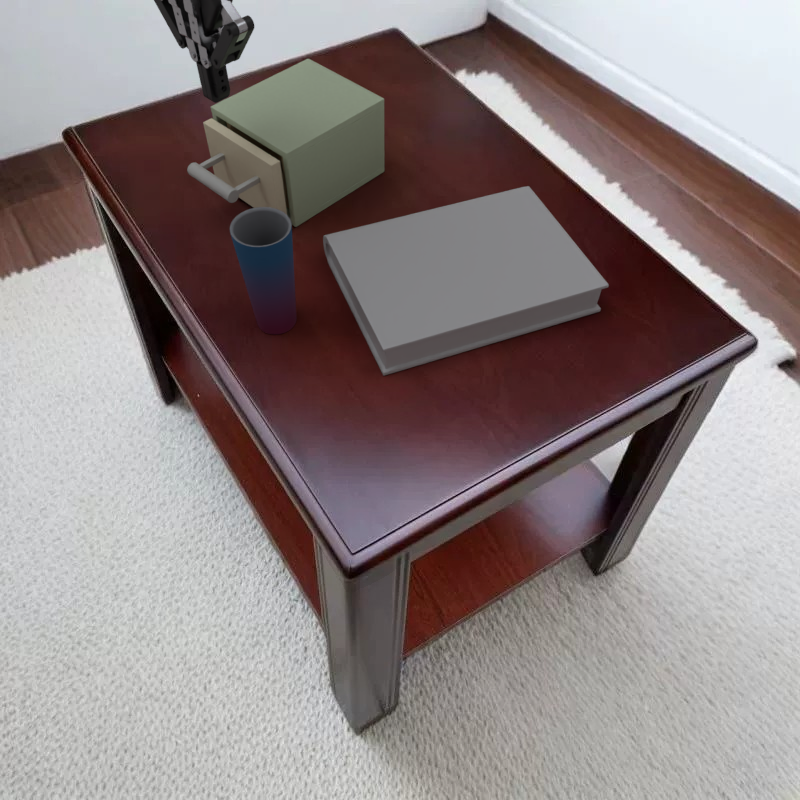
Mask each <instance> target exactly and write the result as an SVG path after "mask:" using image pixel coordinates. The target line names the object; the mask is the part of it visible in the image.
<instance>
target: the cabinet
mask: <svg viewBox="0 0 800 800" xmlns="http://www.w3.org/2000/svg"><path fill="white" fill-rule="evenodd" d="M210 112H211V116H212V119H214V120H215V121H217V122H219V123H220V124H222V125H223V126H225V127H227V123H229V124H230V125H232V126H234V127H235V128H237V129H238V130H240V131H242V132H243V133H245V134H246V135H248V136H250V137H251V138H253V139H255V140H256V141H258V142H259V143H261V144H263V145H264V146H266V147H267V148H269V149H271V150H272V151H274V152H275V153H277V154H279V155H280V156H282V157H283V163H284V171H285V179H286V186H287V194H288V202H289V208H288V207H286V210H287V216H288V217H289V218H290V220H291V224H292V227H293V226H294V228H297V227H299V226H300V225H302V224H304V223H306V222H307V221H308V220H309V219H311V218H313V217H315V216H316V215H317V214H319V213H321V212H322V211H324V210H326V209H327V208H329V207H330V206H332V205H334V204H335V203H336V202H338V201H340V200H341V199H343V198H345V197H347V196H348V195H349V194H351V193H353V192H355V191H356V190H357V189H359V188H360V187H361V188H362V186H364V185H365V184H367V183H369V182H370V181H372V180H373V179H375V178H376V177H378V176H379V175H381V174H383V173H384V172H385V98H384V97H382V96H380V95H378V94H376V93H375V92H372V91H371V90H368V89H367V88H365V87H363V86H361V85H359V84H358V83H356V82H354V81H352V80H350V79H348V78H346V77H344V76H342V75H340V74H339V73H336V72H335V71H333V70H331V69H330V68H327V67H325V66H324V65H321V64H320V63H318V62H316V61H314V60H312V59H310V58H306V59H304V60H302V61H300V62H297V63H296V64H294V65H292V66H289V67H287V68H286V69H283V70H282V71H280V72H278V73H275V74H273V75H272V76H270V77H267V78H265V79H264V80H262V81H260V82H259V81H258V83H256V84H253V85H251V86H249V87H247V88H245V89H243V90H241V91H239V92H237V93H235V94H233V95H230V96H228V97H227V98H225V99H223V100H221V101H219V102H217V103H215V104H213V105H211V106H210ZM226 122H227V123H226Z"/></svg>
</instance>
